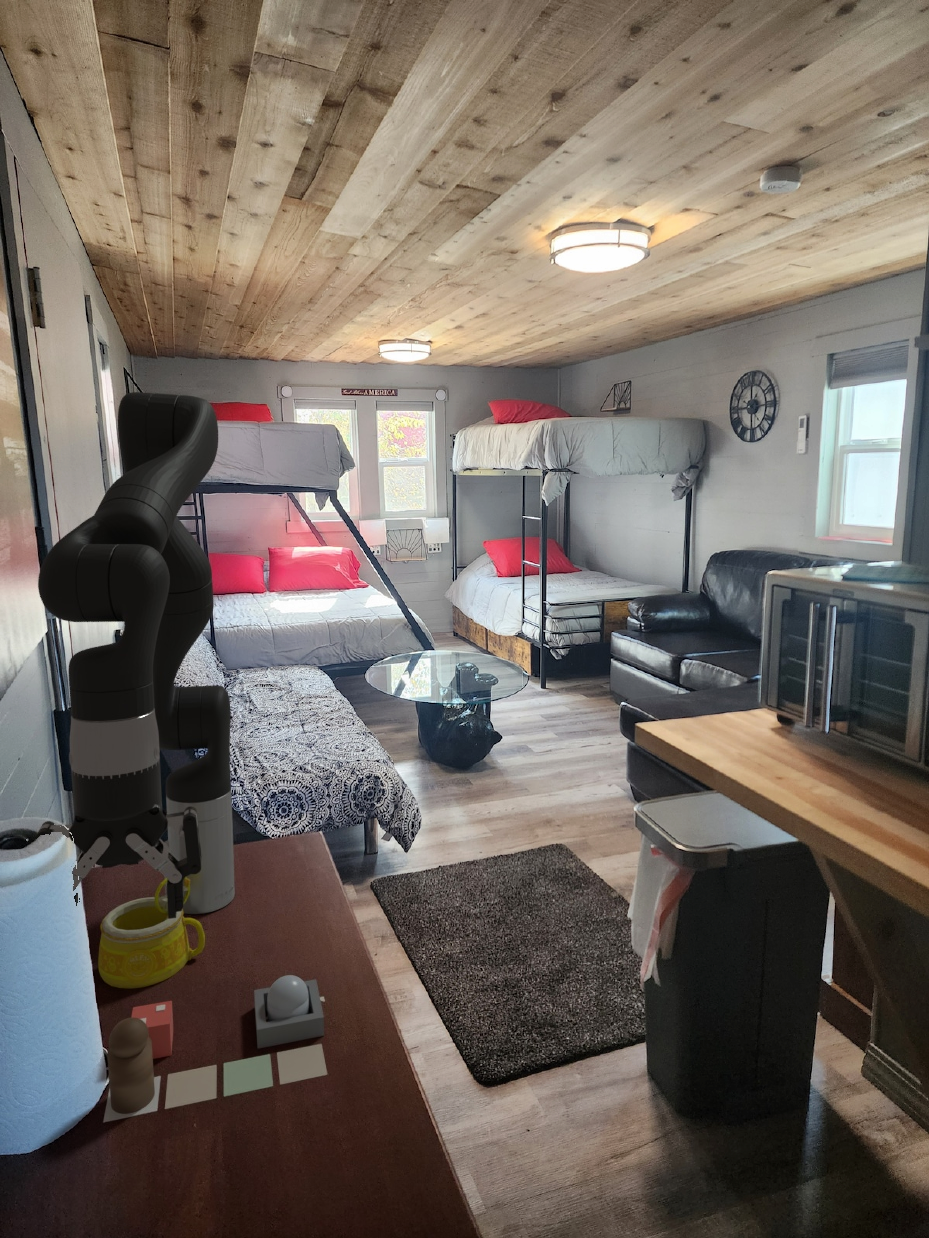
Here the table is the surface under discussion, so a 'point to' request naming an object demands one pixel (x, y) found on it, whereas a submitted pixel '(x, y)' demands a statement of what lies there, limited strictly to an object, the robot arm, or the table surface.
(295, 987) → the capsule
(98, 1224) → the table surface
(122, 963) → the mug
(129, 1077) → the brown round-topped cylinder
